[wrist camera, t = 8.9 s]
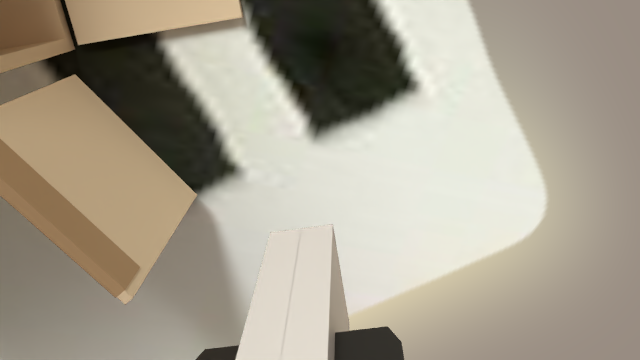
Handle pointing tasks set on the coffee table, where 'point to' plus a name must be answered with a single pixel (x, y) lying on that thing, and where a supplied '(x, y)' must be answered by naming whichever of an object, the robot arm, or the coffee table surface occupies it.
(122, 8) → the carton
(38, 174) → the flap
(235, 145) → the coffee table surface
